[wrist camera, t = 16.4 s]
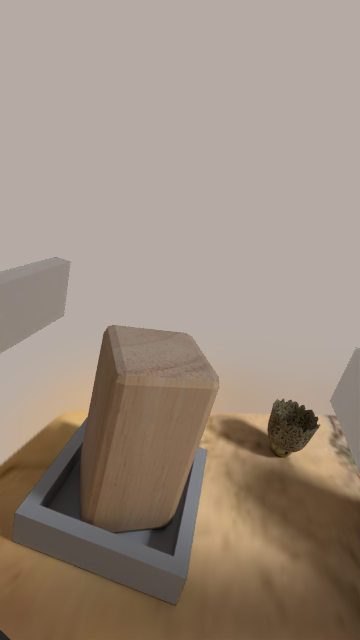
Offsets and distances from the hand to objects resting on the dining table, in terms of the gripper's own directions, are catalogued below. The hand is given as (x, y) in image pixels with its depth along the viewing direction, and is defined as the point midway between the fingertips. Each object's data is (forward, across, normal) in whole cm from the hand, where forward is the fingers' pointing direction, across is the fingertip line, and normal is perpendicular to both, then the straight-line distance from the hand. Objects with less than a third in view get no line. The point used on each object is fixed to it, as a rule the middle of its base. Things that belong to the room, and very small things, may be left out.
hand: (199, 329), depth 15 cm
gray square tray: (+15, -4, -30) cm, 34 cm away
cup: (+34, +17, -31) cm, 49 cm away
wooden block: (+15, -4, -29) cm, 33 cm away
